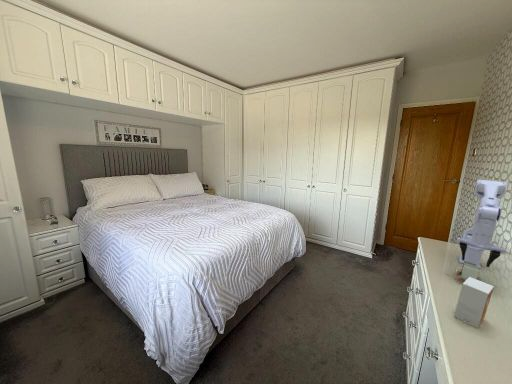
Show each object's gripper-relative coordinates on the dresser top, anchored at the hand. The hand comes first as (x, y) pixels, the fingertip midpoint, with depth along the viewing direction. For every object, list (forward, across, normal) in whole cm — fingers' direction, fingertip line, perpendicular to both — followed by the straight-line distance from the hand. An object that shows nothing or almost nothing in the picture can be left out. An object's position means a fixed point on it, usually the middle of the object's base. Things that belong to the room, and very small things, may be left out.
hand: (474, 262), depth 94 cm
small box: (+10, -1, -31) cm, 33 cm away
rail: (+9, -1, +3) cm, 10 cm away
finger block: (+9, -1, -1) cm, 9 cm away
